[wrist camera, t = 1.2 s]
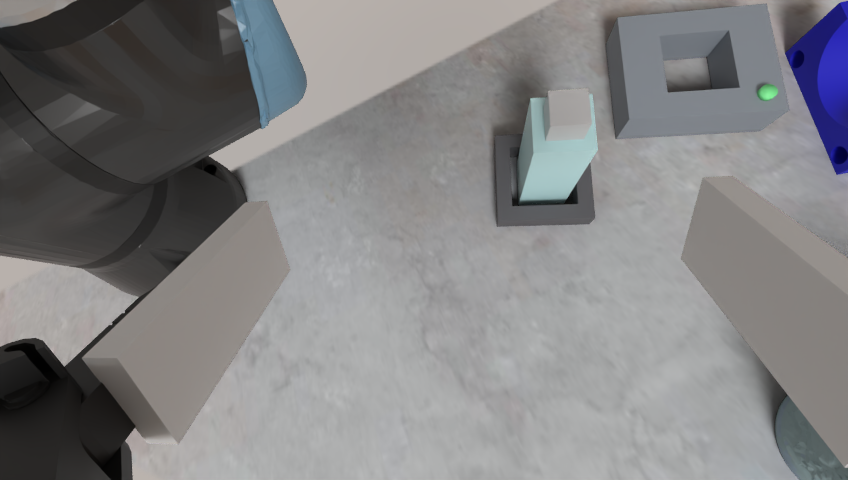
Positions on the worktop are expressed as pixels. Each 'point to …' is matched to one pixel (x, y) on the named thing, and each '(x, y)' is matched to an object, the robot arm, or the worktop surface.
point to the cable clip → (826, 81)
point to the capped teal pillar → (555, 146)
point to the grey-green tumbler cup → (805, 446)
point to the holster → (537, 214)
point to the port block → (728, 66)
